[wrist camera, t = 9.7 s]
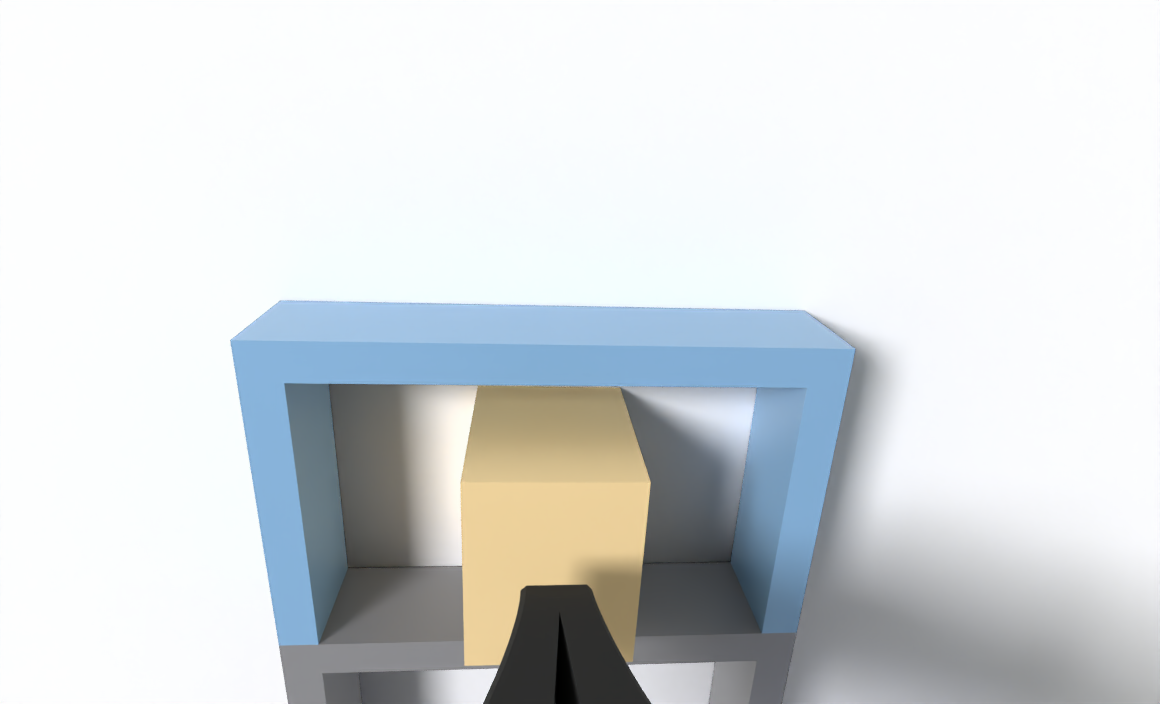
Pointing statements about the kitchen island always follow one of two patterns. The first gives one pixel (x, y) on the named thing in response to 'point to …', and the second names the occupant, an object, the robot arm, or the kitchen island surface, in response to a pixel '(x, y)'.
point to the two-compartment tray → (546, 358)
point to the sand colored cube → (550, 509)
